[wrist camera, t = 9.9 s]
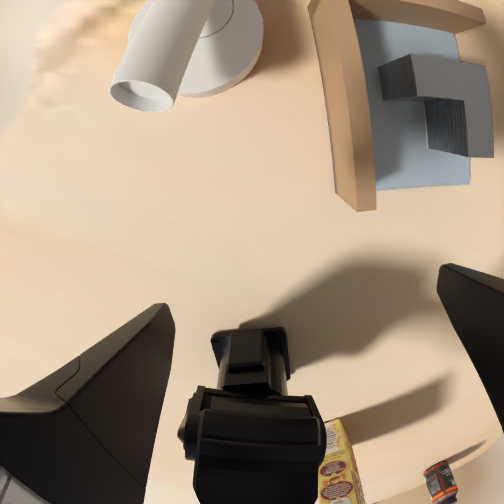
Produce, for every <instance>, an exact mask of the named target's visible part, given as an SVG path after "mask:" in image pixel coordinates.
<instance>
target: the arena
mask: <svg viewBox="0 0 504 504" xmlns="http://www.w3.org/2000/svg"><path fill="white" fill-rule="evenodd" d="M308 11H309V15H310V20H311V24H312V29H313V34H314V38H315V43H316V49H317V54H318V59H319V65H320V71H321V77H322V83H323V89H324V96H325V102H326V109H327V117H328V125H329V133H330V141H331V150H332V160H333V170H334V182H335V193H336V194H337V195H338V196H340V197H341V198H342V199H343V200H344V201H345V202H346V203H348V204H349V205H350V206H351V207H352V208H353V209H354V210H355V211H357V212H362V211H371V210H376V191H381V190H392V189H405V188H418V187H433V186H449V185H468V184H470V157H465V156H461V155H456V154H452V153H448V152H443V151H439V150H434V149H429V148H428V137H427V125H426V115H425V106H424V102H409V101H383V99H382V92H381V85H380V79H379V73H378V68H377V67H379V66H381V65H384V64H386V63H388V62H391V61H393V60H396V59H398V58H400V57H403V56H405V55H408V54H419V55H426V56H433V57H439V58H445V59H451V60H456V61H460V58H459V53H458V49H457V44H456V40H455V36H454V34H455V33H458V32H461V31H464V30H467V29H470V28H473V27H476V26H480V25H483V24H486V21H485V17H484V14H483V11H482V9H480V8H478V7H475V6H472V5H469V4H467V3H464V2H461V1H458V0H311V1H310V3H309V5H308Z"/></svg>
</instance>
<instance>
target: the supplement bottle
mask: <svg viewBox="0 0 504 504" xmlns="http://www.w3.org/2000/svg"><path fill="white" fill-rule="evenodd" d="M424 478H425V481H426V484H427V487H428V490H429V493H430V496H431V499H432V502H433V503H434V504H455V503H456V502H457V499H456V497H455V496H456V494H457V492H458V488H457V485H456V483H455V480H454V477H453V475H452V472H451V470H450V467H449V465H448V463H447V462H446V461H444V462H440V463H438V464H436V465H434V466H432V467H430V468H429V469H428V470H426V471H425V473H424Z"/></svg>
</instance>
